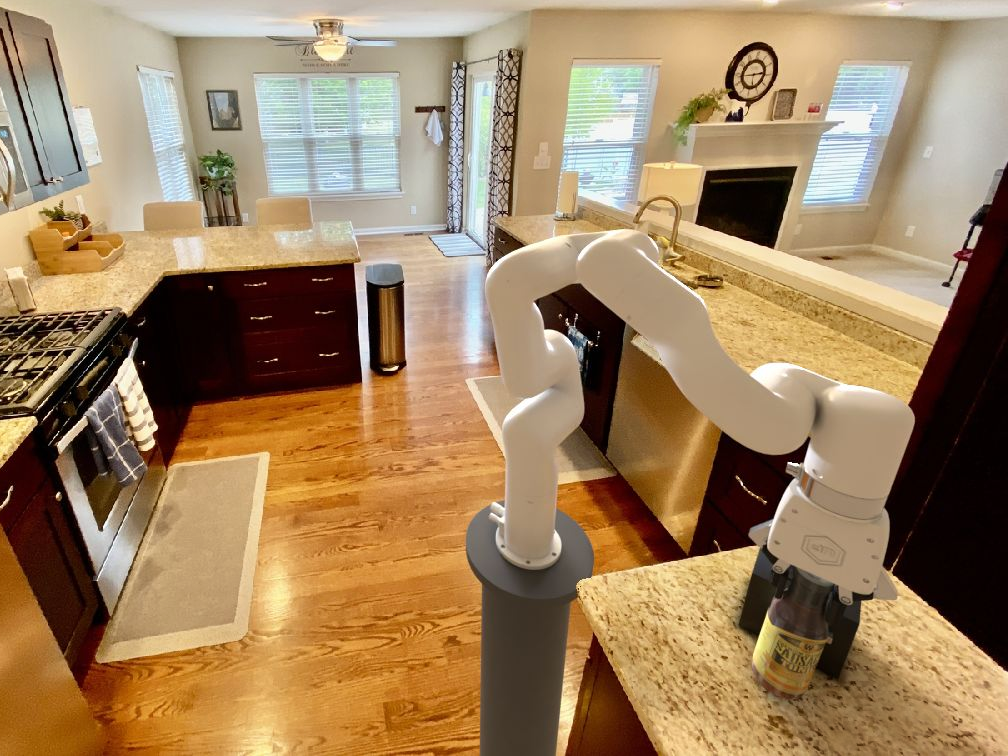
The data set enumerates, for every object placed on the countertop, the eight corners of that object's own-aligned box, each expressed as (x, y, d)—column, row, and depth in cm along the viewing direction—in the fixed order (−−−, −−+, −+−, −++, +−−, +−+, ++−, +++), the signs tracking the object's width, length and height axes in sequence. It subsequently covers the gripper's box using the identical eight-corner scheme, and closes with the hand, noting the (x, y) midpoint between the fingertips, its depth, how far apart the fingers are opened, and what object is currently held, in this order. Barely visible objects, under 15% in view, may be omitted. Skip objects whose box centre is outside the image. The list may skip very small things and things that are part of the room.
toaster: (736, 631, 75) (750, 577, 71) (751, 583, 82) (764, 532, 79) (837, 687, 67) (859, 629, 63) (843, 628, 75) (863, 574, 71)
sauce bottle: (761, 697, 66) (793, 588, 59) (742, 652, 71) (770, 547, 65) (817, 709, 64) (857, 598, 57) (794, 661, 70) (827, 555, 63)
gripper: (747, 474, 59) (721, 584, 66) (948, 547, 48) (893, 672, 55) (759, 445, 65) (734, 550, 71) (943, 506, 53) (894, 624, 60)
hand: (803, 602), depth 63 cm, fingers closed on sauce bottle, 4 cm apart
